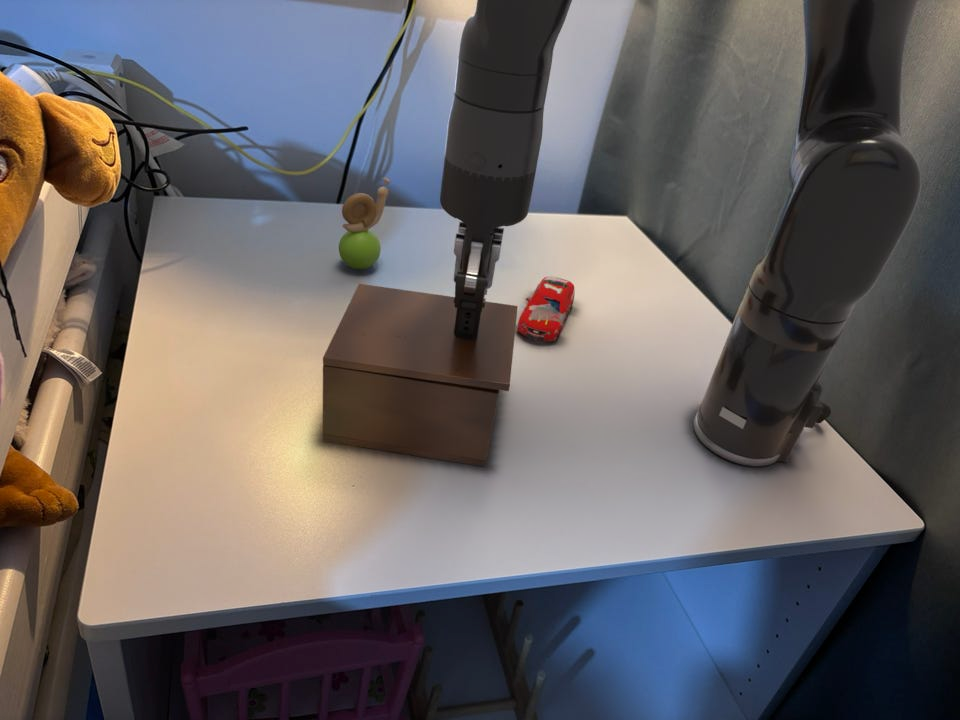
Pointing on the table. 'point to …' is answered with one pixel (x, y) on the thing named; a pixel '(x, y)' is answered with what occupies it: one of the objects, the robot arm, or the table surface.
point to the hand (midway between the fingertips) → (465, 334)
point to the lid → (423, 339)
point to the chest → (408, 415)
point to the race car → (547, 309)
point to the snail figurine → (362, 228)
